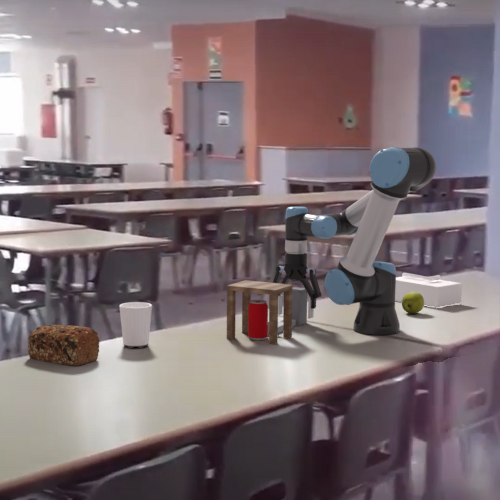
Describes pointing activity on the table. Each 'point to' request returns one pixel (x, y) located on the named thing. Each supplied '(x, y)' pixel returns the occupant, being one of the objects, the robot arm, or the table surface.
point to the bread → (64, 344)
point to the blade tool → (296, 308)
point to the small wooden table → (273, 292)
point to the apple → (413, 302)
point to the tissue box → (429, 289)
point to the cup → (135, 323)
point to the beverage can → (258, 320)
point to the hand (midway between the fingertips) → (295, 316)
